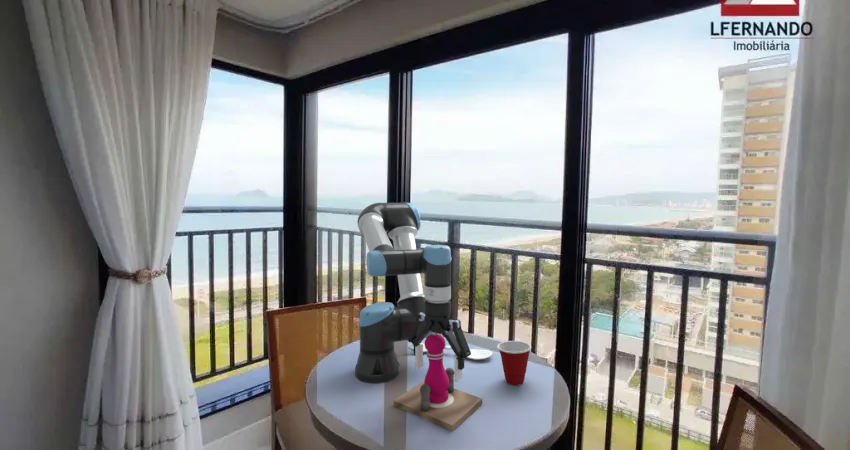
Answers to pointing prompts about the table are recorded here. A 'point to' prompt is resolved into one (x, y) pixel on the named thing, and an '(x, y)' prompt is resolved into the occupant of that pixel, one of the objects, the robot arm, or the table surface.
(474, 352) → the spoon
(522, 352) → the plastic cup
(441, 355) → the pepper mill
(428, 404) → the holder
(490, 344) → the table surface
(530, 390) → the table surface
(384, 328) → the robot arm
